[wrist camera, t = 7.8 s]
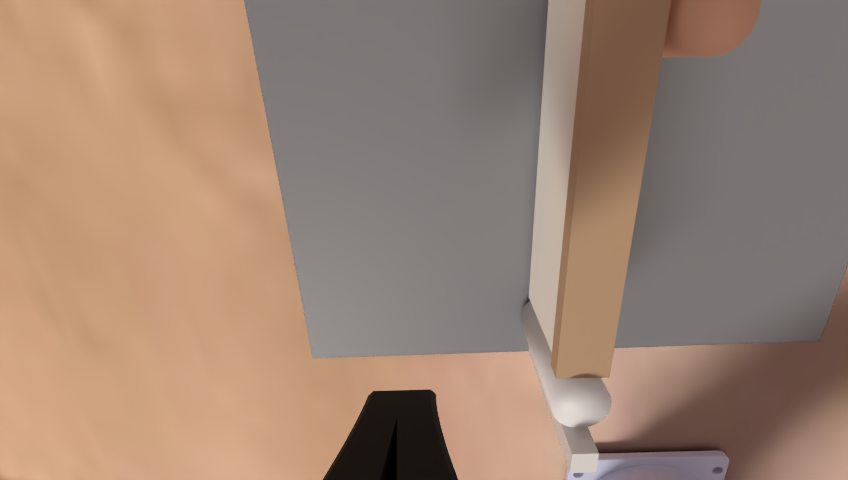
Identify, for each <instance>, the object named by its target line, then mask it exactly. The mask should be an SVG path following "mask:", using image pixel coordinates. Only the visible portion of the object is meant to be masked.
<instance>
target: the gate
mask: <svg viewBox="0 0 848 480" xmlns="http://www.w3.org/2000/svg"><path fill="white" fill-rule="evenodd" d="M670 6H671V0H548V14H547V29H546V44H545V60H544V75H543V90H542V105H541V120H540V135H539V150H538V165H537V180H536V195H535V210H534V225H533V240H532V255H531V270H530V285H529V299H530V301H529V302H528V303H527V304H526V305H525V306H524V307H523V309H522V311H521V314H520V320H521V323H522V326H523V329H524V332H525V335H526V338H527V341H528V344H529V347H530V349H531V352H532V355H533V358H534V361H535V364H536V367H537V370H538V373H539V375H540V378H541V381H542V384H543V387H544V390H545V393H546V396H547V398H548V401H549V404H550V407H551V410H552V413H553V415H554V417H555V419H556V420H557V421H558V422H560V423H561V424H563V425H565V426H568V427H573V428H583V427H588V426H591V425H594V424H596V423H598V422H600V421H601V420H602V419H603V418H604V417H605V416H606V415H607V414H608V412H609V411H610V408H611V403H612V402H611V397H610V394H609V393H608V391H607V389H606V387H605V385H604V383H603V381H602V380H601V378H603V377H609V376H610V370H611V364H612V358H613V352H614V346H615V340H616V334H617V327H618V321H619V315H620V309H621V303H622V297H623V291H624V285H625V279H626V273H627V267H628V261H629V255H630V249H631V243H632V236H633V230H634V224H635V218H636V212H637V206H638V200H639V194H640V188H641V182H642V176H643V170H644V164H645V158H646V152H647V145H648V139H649V133H650V127H651V121H652V115H653V109H654V103H655V97H656V91H657V85H658V79H659V73H660V67H661V60H662V54H663V48H664V42H665V36H666V30H667V24H668V18H669V12H670Z"/></svg>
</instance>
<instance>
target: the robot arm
mask: <svg viewBox="0 0 848 480" xmlns="http://www.w3.org/2000/svg"><path fill="white" fill-rule="evenodd" d="M728 465H729V459H728V457H727V456H726V454H725V453H724V452H722V451H717V450H715V451H677V452H638V453H600V454H599V457H598V464H597V471H596V472H590V473H570V471H569V468H568V465H567V469H566V479H565V480H724V478H725V475H726V471H727V468H728ZM323 480H458V478H457V476H456V473H455V470H454V467H453V465H452V462H451V459H450V456H449V453H448V450H447V447H446V444H445V440H444V437H443V433H442V429H441V426H440V421H439V417H438V412H437V405H436V394H435V393H434V392H433V391H431V390H401V391H373V392H372V393H371V394H370V395H369V396H368V398H367V400H366V403H365V405H364V407H363V409H362V411H361V413H360V415H359V417H358V419H357V421H356V423H355V425H354V427H353V429H352V431H351V432H350V434H349V436H348V438H347V440H346V441H345V443H344V445H343V447H342V449H341V450H340V452H339V454H338V455H337V457H336V459H335V460H334V462H333V464H332V465H331V467H330V469H329V470H328V472H327V474H326V475H325V477H324V479H323Z"/></svg>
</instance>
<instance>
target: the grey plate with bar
mask: <svg viewBox="0 0 848 480" xmlns="http://www.w3.org/2000/svg"><path fill="white" fill-rule="evenodd" d="M244 2H245V7H246V12H247V17H248V23H249V28H250V33H251V38H252V44H253V49H254V54H255V59H256V64H257V70H258V75H259V80H260V85H261V91H262V96H263V101H264V106H265V111H266V117H267V122H268V127H269V132H270V138H271V143H272V148H273V153H274V158H275V164H276V169H277V174H278V179H279V185H280V190H281V195H282V200H283V205H284V211H285V216H286V221H287V226H288V232H289V237H290V242H291V247H292V252H293V258H294V263H295V268H296V273H297V279H298V284H299V289H300V294H301V299H302V305H303V310H304V315H305V320H306V326H307V331H308V336H309V341H310V346H311V352H312V357H313V359H314V358H342V357H371V356H400V355H428V354H457V353H486V352H515V351H529V353H530V356H531V359H532V362H533V365H534V368H535V371H536V374H537V377H538V380H539V383H540V386H541V389H542V392H543V395H544V397H545V400H546V403H547V406H548V409H549V412H550V415H551V418H552V421H553V424H554V427H555V430H556V433H557V436H558V439H559V442H560V445H561V448H562V451H563V454H564V457H565V460H566V462H567V465H568V468H569V471H570V473H590V472H596V471H597V464H598V457H599V452H598V450H597V448H596V445H595V443H594V441H593V438H592V436H591V434H590V431H589V429H588V427H583V428H573V427H568V426H565V425H563V424H561V423H560V422H558V421H557V420H556V419H555V417H554V415H553V413H552V410H551V407H550V404H549V401H548V398H547V396H546V393H545V390H544V387H543V384H542V381H541V378H540V375H539V373H538V370H537V367H536V364H535V361H534V358H533V355H532V352H531V349H530V347H529V344H528V341H527V338H526V335H525V332H524V329H523V326H522V323H521V320H520V314H521V311H522V309H523V307H524V306H525V305H526V304H527V303H528V302H529V301H530V299H529V285H530V270H531V255H532V240H533V225H534V210H535V195H536V180H537V165H538V150H539V135H540V120H541V105H542V90H543V75H544V60H545V44H546V29H547V14H548V0H244ZM847 265H848V0H671V6H670V12H669V18H668V24H667V30H666V36H665V42H664V48H663V54H662V60H661V67H660V73H659V79H658V85H657V91H656V97H655V103H654V109H653V115H652V121H651V127H650V133H649V139H648V145H647V152H646V158H645V164H644V170H643V176H642V182H641V188H640V194H639V200H638V206H637V212H636V218H635V224H634V230H633V236H632V243H631V249H630V255H629V261H628V267H627V273H626V279H625V285H624V291H623V297H622V303H621V309H620V315H619V321H618V327H617V334H616V340H615V346H614V348H629V347H658V346H687V345H716V344H744V343H773V342H802V341H820V339H821V336H822V333H823V331H824V328H825V325H826V322H827V320H828V317H829V314H830V312H831V309H832V306H833V303H834V301H835V298H836V295H837V293H838V290H839V287H840V284H841V282H842V279H843V276H844V274H845V271H846V268H847Z"/></svg>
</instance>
